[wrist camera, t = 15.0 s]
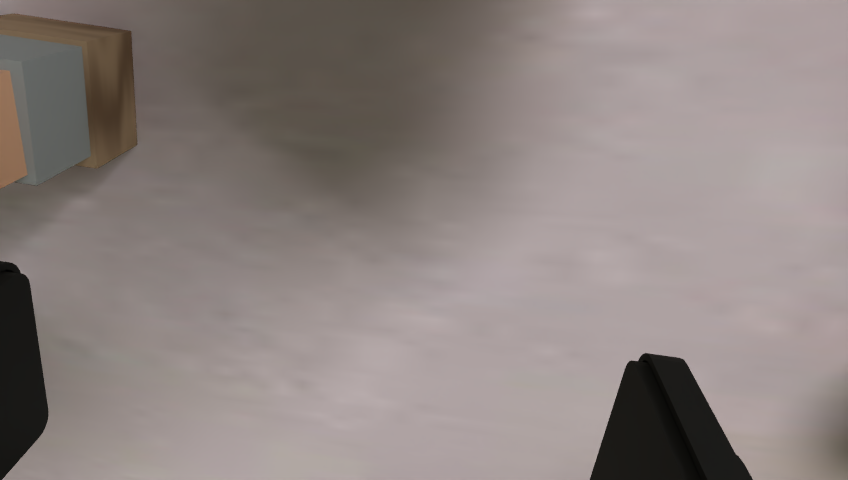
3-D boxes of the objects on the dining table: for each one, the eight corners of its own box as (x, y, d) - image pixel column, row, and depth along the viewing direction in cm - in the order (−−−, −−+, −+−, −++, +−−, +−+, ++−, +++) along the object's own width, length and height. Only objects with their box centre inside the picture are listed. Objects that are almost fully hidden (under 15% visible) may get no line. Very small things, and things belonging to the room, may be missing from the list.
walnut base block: (14, 13, 38) (-47, 21, 33) (131, 30, 38) (86, 41, 33) (29, 128, 41) (-26, 150, 36) (137, 144, 41) (96, 168, 36)
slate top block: (-32, 29, 33) (-111, 41, 29) (81, 46, 33) (21, 61, 29) (-15, 140, 36) (-85, 167, 31) (90, 155, 36) (37, 185, 31)
